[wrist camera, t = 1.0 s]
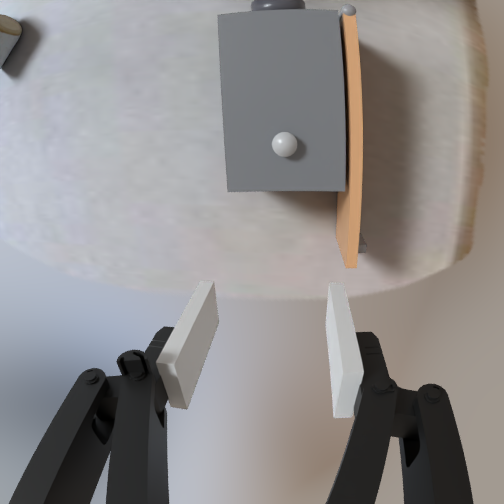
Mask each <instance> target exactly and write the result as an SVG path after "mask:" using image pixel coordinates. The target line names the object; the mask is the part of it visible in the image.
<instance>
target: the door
mask: <svg viewBox="0 0 504 504" xmlns="http://www.w3.org/2000/svg"><path fill="white" fill-rule="evenodd" d="M355 14H356V9H355V7H354V6H352V5H350V4H346V5H344V6H343V7H342V9H341V11H340V14H339V25H340V36H341V47H342V60H343V76H344V96H345V132H346V174H345V191H338V193H337V225H336V239H337V242H338V245H339V248H340V251H341V254H342V257H343V260H344V264H345V267H346V268H357V257H358V253H366V247H367V244H366V243H365V241H364V239H363V237H362V235H361V233H360V218H361V199H362V170H363V115H362V87H361V69H360V55H359V44H358V33H357V24H356V15H355Z"/></svg>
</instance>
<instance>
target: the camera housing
mask: <svg viewBox="0 0 504 504" xmlns="http://www.w3.org/2000/svg"><path fill="white" fill-rule="evenodd" d="M251 9H252V11H249V12H238V13H229V14H221V15H218V35H219V56H220V76H221V95H222V112H223V129H224V145H225V160H226V175H227V189H228V192H252V191H345V174H346V132H345V96H344V76H343V60H342V47H341V36H340V25H339V16H338V10H317V9H305V3H304V1H303V0H255V1H253V2H252V4H251Z"/></svg>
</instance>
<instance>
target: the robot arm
mask: <svg viewBox="0 0 504 504" xmlns="http://www.w3.org/2000/svg"><path fill="white" fill-rule="evenodd" d="M218 324H219V318H218V310H217V302H216V293H215V285H214V281H200V283H199V284H198V286H197V288H196V290H195V291H194V293H193V295H192V297H191V299H190V300H189V302H188V304H187V306H186V308H185V310H184V311H183V313H182V315H181V317H180V319H179V321H178V322H177V324H176V326H175V327H163V328H162V329H160V330H159V331H158V332H157V333H156V334H155V336H154V338H153V341H151V343H150V344H149V347H148V348H147V349H146V351H145V353H144V352H142V351H140V350H130V351H127V352H125V353H122V354H121V355H120V356H119V357H118V359H117V364H118V367H119V369H120V372H121V374H122V375H120V376H109V377H106V375H105V373H104V372H103V371H102V370H101V369H97V368H92V369H88V370H86V371H84V372H83V373H82V374H81V375H80V376H79V377H78V379H77V381H76V382H75V384H74V386H73V387H72V389H71V390H70V392H69V394H68V395H67V397H66V399H65V400H64V402H63V403H62V405H61V407H60V409H59V410H58V412H57V414H56V415H55V417H54V419H53V420H52V422H51V424H50V426H49V427H48V429H47V431H46V433H45V435H44V436H43V438H42V440H41V442H40V443H39V445H38V447H37V449H36V451H35V453H34V454H33V456H32V458H31V460H30V462H29V464H28V466H27V468H26V470H25V472H24V474H23V476H22V478H21V480H20V482H19V483H18V486H17V488H16V490H15V492H14V494H13V496H12V498H11V500H10V502H9V504H90V502H91V499H92V497H93V494H94V491H95V489H96V486H97V484H98V481H99V478H100V476H101V473H102V471H103V468H104V466H105V463H106V461H107V458H108V455H109V453H110V451H111V453H110V462H109V472H108V482H107V495H106V504H169V490H168V465H167V464H168V463H167V411H166V408H165V405H166V403H167V400H169V403H170V406H171V407H175V408H181V409H188V406H189V404H190V401H191V398H192V395H193V393H194V389H195V387H196V384H197V381H198V379H199V376H200V373H201V371H202V368H203V365H204V362H205V360H206V357H207V354H208V351H209V349H210V346H211V343H212V340H213V338H214V335H215V332H216V329H217V327H218ZM326 333H327V343H328V353H329V364H330V375H331V388H332V399H333V400H332V401H333V415H334V418H344V417H345V418H347V417H352V415H353V411H354V415H355V420H354V423H353V426H352V429H351V433H350V436H349V440H348V443H347V446H346V449H345V452H344V455H343V458H342V461H341V464H340V467H339V470H338V473H337V476H336V478H335V481H334V484H333V487H332V489H331V492H330V494H329V497H328V499H327V502H326V504H375V500H376V497H377V493H378V489H379V485H380V482H381V478H382V474H383V469H384V465H385V461H386V456H387V452H388V447H389V442H390V437H391V436H393V437H399V445H400V454H401V464H402V475H403V490H404V504H473V498H472V492H471V487H470V481H469V476H468V471H467V466H466V461H465V457H464V452H463V448H462V444H461V440H460V436H459V433H458V428H457V425H456V421H455V417H454V414H453V411H452V407H451V404H450V400H449V397H448V394H447V392H446V391H445V389H443V388H442V387H441V386H439V385H436V384H426V385H423V386H422V387H420V388H419V390H418V391H412V390H406V389H402V388H400V387H398V386H397V384H396V383H395V381H394V380H392V379H391V378H390V377H389V374H388V370H387V367H386V363H385V360H384V357H383V354H382V349H381V346H380V343H379V339H378V338H377V337H376V336H375V335H374V334H373V333H372V332H355V328H354V324H353V320H352V316H351V311H350V307H349V303H348V299H347V295H346V291H345V287H344V283H329V291H328V304H327V315H326Z"/></svg>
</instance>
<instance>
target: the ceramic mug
mask: <svg viewBox="0 0 504 504" xmlns="http://www.w3.org/2000/svg"><path fill="white" fill-rule="evenodd" d="M21 33H22V28H21V26H20V24H19V23H18V22H17V21H16V20H14V19H12V18H11V17H8V16H6V15H1V14H0V69H1V67H2V65H3V63H4V62H5V60H6V58H7V57H8V55H9V53H10V52H11V50H12V48H13V47H14V45H15V44H16V42H17V41H18V39H19V37H20V35H21Z"/></svg>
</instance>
